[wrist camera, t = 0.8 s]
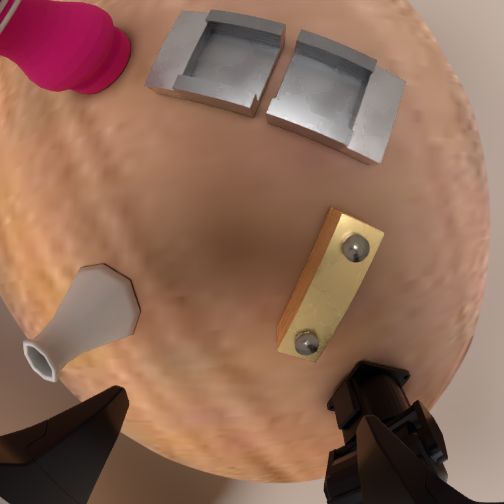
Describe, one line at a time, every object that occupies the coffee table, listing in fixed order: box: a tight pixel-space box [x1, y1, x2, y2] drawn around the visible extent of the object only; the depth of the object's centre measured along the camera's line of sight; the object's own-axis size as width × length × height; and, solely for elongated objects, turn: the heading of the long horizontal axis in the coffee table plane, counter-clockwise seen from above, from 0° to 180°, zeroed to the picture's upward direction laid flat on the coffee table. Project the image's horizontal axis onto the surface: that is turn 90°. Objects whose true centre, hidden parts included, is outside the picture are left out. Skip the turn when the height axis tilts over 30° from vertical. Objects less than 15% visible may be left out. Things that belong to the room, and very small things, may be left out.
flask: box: [23, 264, 140, 382], centre depth 17 cm, size 7×7×10 cm
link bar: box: [277, 207, 384, 362], centre depth 18 cm, size 10×3×4 cm, turn 160°
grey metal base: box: [145, 10, 406, 165], centre depth 14 cm, size 16×6×3 cm, turn 70°
